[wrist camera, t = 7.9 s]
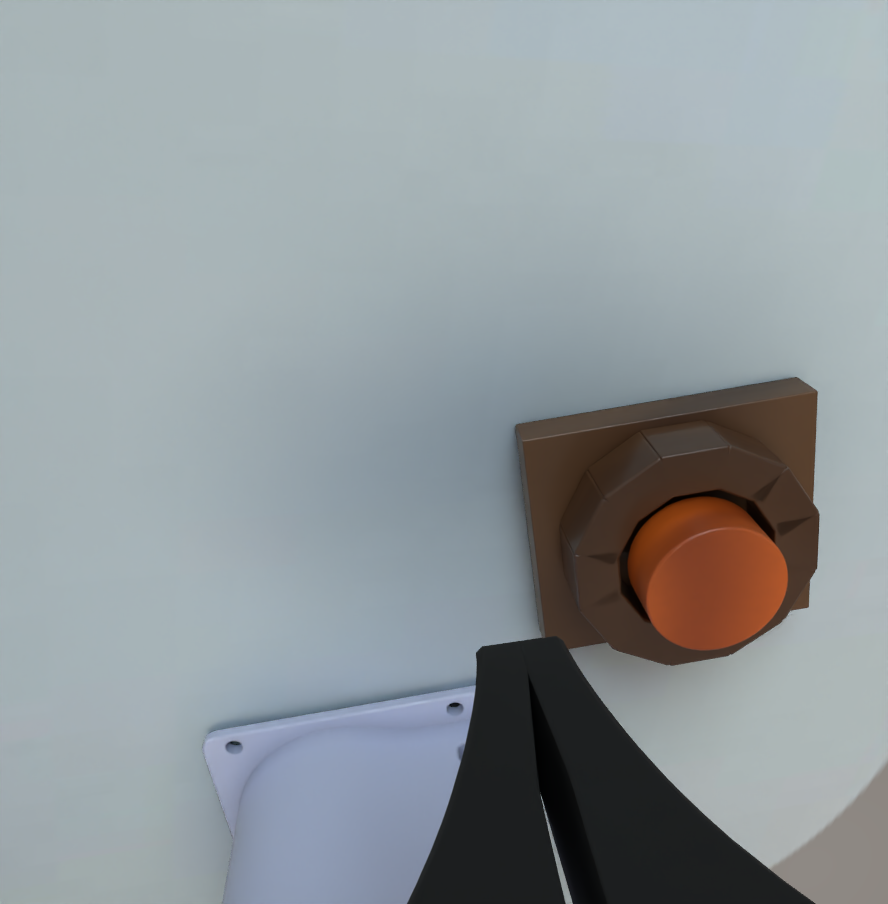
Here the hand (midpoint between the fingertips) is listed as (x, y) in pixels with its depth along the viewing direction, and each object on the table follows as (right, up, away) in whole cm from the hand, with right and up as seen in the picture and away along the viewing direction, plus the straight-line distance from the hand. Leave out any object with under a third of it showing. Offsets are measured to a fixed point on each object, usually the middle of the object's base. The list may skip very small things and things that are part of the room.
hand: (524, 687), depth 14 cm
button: (+5, +1, +9) cm, 10 cm away
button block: (+5, +2, +11) cm, 12 cm away
